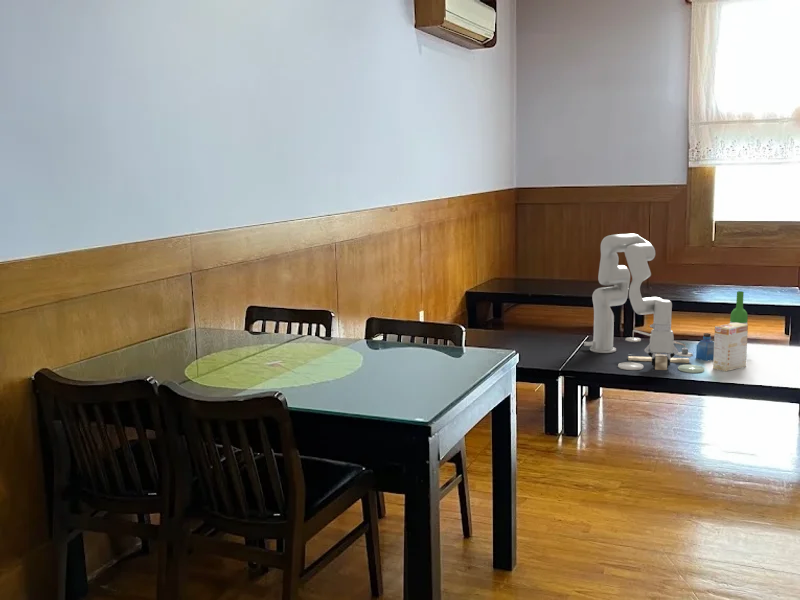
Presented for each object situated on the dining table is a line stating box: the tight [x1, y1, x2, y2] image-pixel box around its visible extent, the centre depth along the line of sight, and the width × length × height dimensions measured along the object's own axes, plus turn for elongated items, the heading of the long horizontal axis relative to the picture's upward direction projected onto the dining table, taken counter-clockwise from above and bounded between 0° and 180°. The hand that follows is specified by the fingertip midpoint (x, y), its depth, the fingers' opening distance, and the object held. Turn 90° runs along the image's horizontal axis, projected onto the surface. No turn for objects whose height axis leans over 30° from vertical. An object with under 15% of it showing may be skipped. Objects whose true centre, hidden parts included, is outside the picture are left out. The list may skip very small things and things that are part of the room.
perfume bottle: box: [695, 332, 714, 362], centre depth 376 cm, size 6×6×12 cm
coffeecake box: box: [712, 322, 749, 372], centre depth 358 cm, size 15×7×20 cm, turn 123°
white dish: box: [617, 361, 644, 371], centre depth 363 cm, size 11×11×1 cm
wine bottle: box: [729, 290, 749, 325], centre depth 385 cm, size 8×8×30 cm
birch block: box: [654, 353, 668, 371], centre depth 360 cm, size 5×5×6 cm
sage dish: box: [677, 364, 705, 374], centre depth 357 cm, size 11×11×1 cm
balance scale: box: [625, 329, 694, 364], centre depth 373 cm, size 30×7×15 cm, turn 76°
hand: (660, 366), depth 360 cm, fingers closed on birch block, 5 cm apart
